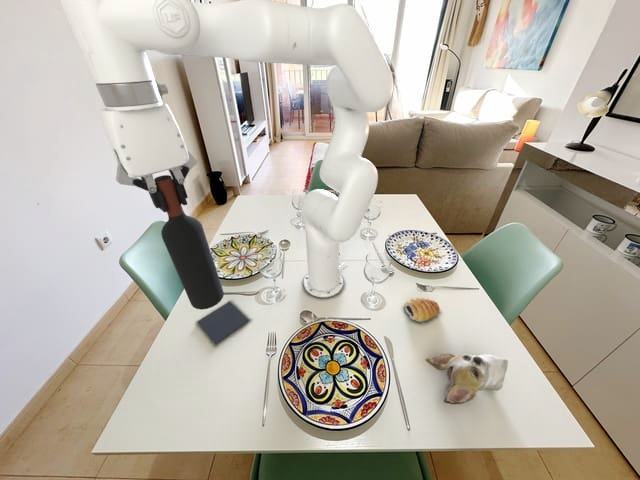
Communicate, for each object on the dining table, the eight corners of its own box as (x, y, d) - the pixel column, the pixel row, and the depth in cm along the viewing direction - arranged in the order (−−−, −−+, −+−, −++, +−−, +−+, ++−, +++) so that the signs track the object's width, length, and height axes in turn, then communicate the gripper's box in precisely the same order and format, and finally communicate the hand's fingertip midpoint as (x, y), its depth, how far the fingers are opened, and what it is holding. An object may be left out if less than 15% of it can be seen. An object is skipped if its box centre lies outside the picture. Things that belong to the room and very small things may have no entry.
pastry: (429, 300, 80) (432, 290, 77) (444, 317, 74) (447, 308, 72) (401, 306, 78) (403, 297, 76) (413, 325, 72) (416, 316, 70)
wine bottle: (189, 313, 60) (133, 189, 43) (192, 289, 66) (144, 173, 49) (224, 305, 62) (183, 183, 45) (223, 283, 68) (187, 168, 51)
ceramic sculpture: (528, 381, 51) (450, 390, 50) (514, 403, 55) (442, 412, 55) (494, 333, 59) (427, 341, 59) (484, 356, 64) (422, 364, 64)
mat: (229, 302, 80) (229, 301, 80) (248, 321, 75) (248, 319, 74) (197, 322, 74) (197, 321, 74) (215, 344, 69) (215, 343, 68)
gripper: (176, 89, 47) (204, 187, 57) (58, 101, 37) (118, 216, 48) (195, 92, 43) (222, 197, 53) (68, 105, 33) (132, 231, 44)
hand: (173, 205), depth 50 cm, fingers closed on wine bottle, 2 cm apart
